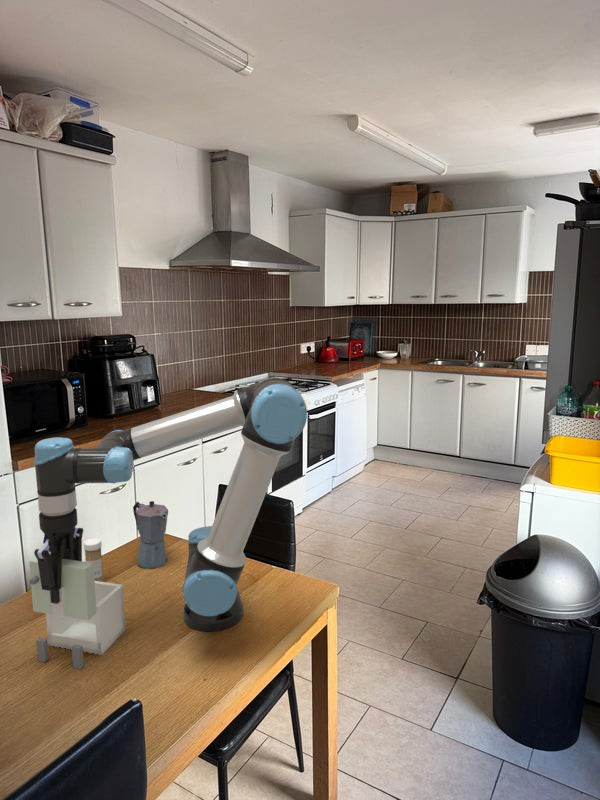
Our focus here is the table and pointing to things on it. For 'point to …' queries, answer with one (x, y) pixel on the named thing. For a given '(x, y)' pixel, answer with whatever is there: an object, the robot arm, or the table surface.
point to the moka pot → (151, 534)
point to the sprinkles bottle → (94, 557)
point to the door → (67, 589)
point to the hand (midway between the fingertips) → (64, 609)
